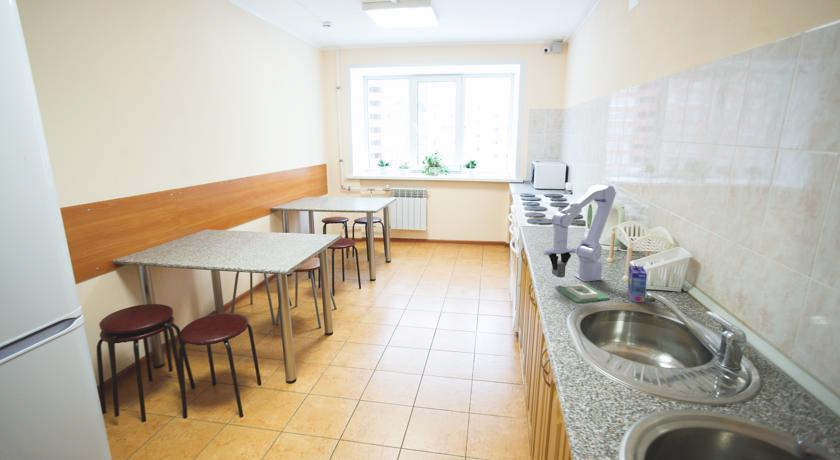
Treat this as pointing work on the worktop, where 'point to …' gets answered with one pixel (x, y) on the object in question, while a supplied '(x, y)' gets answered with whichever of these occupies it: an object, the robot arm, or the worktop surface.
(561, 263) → the plug
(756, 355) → the worktop surface
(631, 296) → the ink cartridge box
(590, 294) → the header board
